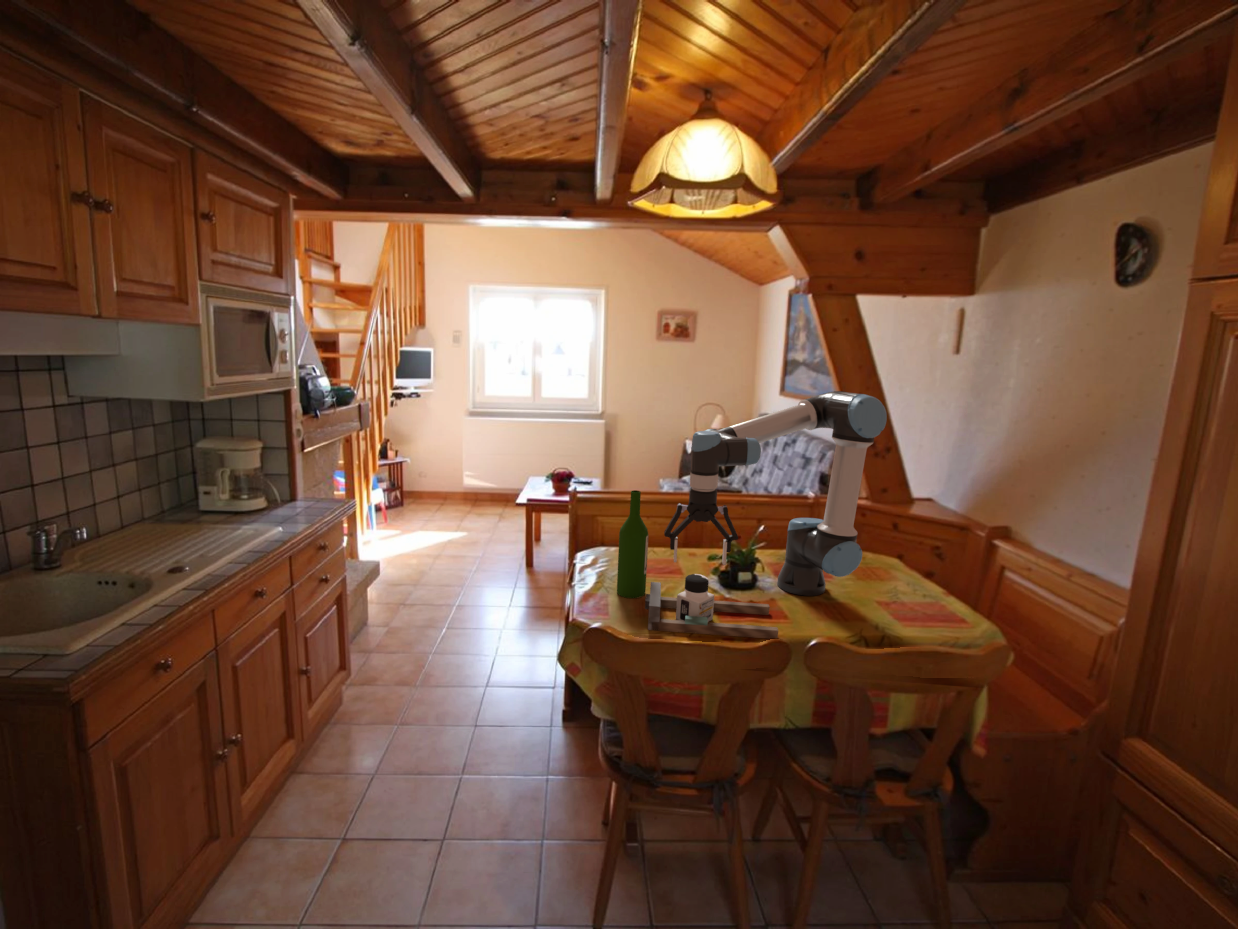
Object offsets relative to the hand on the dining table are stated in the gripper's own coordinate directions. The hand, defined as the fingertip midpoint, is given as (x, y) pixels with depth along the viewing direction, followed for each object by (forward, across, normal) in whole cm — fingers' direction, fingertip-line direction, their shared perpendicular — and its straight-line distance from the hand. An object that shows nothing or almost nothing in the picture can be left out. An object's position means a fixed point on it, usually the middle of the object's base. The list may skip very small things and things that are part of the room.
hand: (699, 561), depth 176 cm
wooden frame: (+17, -3, 0) cm, 18 cm away
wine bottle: (+17, +20, -16) cm, 30 cm away
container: (+18, +1, 0) cm, 18 cm away
